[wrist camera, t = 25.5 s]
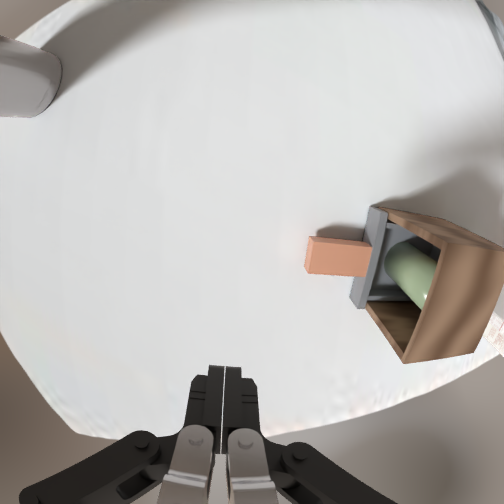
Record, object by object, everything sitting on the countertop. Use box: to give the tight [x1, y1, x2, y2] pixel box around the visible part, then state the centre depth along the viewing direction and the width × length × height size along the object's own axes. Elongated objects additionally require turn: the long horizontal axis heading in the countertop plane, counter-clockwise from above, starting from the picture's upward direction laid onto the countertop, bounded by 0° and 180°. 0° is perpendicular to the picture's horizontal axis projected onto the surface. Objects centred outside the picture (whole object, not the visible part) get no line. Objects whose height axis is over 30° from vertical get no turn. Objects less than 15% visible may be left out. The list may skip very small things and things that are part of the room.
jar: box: [384, 242, 438, 310], centre depth 28 cm, size 5×5×10 cm
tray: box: [304, 206, 441, 309], centre depth 32 cm, size 18×12×3 cm, turn 84°
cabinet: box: [365, 207, 504, 364], centre depth 27 cm, size 11×12×14 cm
